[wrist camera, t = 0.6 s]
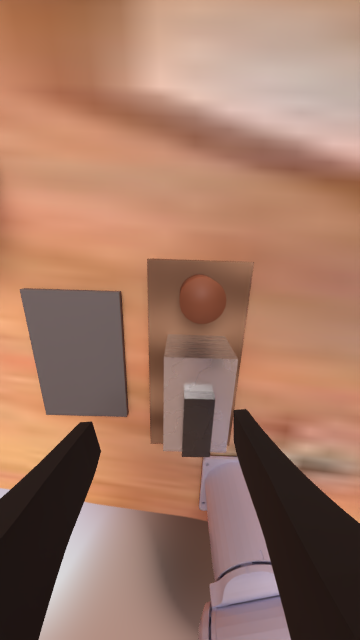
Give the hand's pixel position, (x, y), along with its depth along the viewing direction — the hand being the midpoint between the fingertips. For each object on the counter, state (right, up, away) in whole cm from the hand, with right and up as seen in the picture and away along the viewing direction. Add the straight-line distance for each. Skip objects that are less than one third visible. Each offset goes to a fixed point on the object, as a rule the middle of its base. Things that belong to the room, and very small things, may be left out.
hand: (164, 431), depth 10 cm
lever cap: (+2, +1, +8) cm, 8 cm away
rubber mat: (-9, +2, +10) cm, 14 cm away
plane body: (+2, +2, +10) cm, 11 cm away
